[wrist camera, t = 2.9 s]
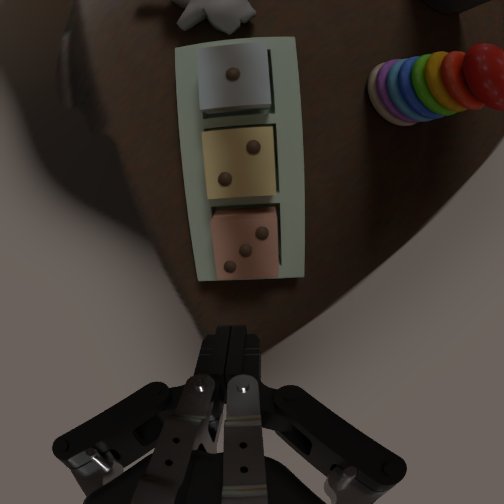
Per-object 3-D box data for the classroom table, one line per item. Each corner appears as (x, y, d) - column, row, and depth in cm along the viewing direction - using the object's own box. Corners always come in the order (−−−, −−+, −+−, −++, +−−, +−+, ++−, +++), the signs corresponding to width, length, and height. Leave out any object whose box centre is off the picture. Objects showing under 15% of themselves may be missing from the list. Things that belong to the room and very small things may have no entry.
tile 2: (271, 128, 25) (272, 126, 21) (274, 187, 27) (276, 195, 23) (210, 133, 25) (201, 131, 21) (215, 191, 27) (207, 199, 24)
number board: (291, 46, 23) (294, 36, 20) (300, 265, 33) (304, 276, 30) (182, 55, 24) (175, 48, 21) (203, 269, 34) (198, 281, 31)
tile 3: (275, 206, 28) (277, 217, 24) (276, 260, 30) (278, 278, 26) (216, 209, 28) (209, 221, 24) (222, 262, 30) (217, 280, 27)
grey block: (265, 55, 22) (266, 41, 18) (269, 109, 24) (271, 103, 20) (205, 60, 22) (196, 48, 18) (208, 114, 24) (199, 109, 20)
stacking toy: (394, 139, 26) (516, 156, 9) (351, 84, 24) (453, 34, 7) (432, 105, 24) (549, 104, 7) (393, 53, 22) (497, 6, 5)
